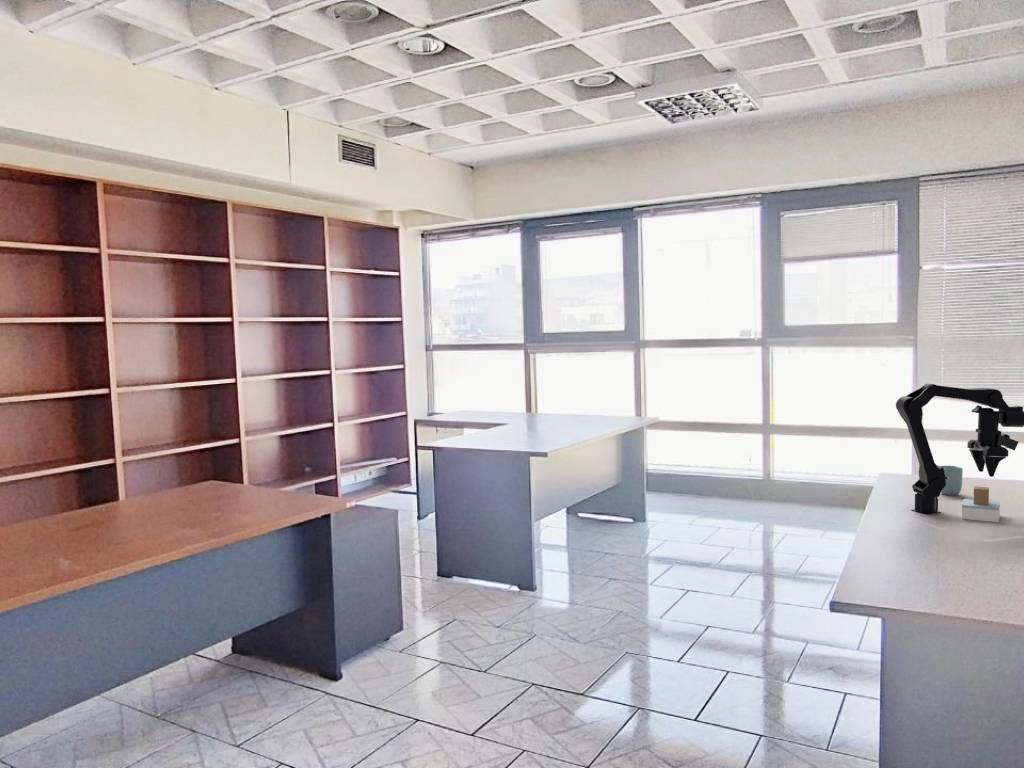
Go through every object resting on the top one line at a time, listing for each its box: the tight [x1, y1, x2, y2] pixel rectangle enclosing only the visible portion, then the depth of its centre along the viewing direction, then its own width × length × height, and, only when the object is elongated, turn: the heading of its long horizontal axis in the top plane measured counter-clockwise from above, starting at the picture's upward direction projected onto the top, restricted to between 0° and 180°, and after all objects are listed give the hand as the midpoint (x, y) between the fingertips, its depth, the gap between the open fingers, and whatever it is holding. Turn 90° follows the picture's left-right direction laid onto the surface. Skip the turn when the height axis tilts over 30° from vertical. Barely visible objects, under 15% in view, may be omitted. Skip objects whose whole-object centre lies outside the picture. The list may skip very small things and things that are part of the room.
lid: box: [961, 486, 1001, 511], centre depth 250 cm, size 10×10×6 cm
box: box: [961, 507, 1001, 523], centre depth 250 cm, size 10×10×4 cm
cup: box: [940, 465, 963, 496], centre depth 286 cm, size 8×8×10 cm
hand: (986, 474), depth 256 cm, fingers open, 9 cm apart
